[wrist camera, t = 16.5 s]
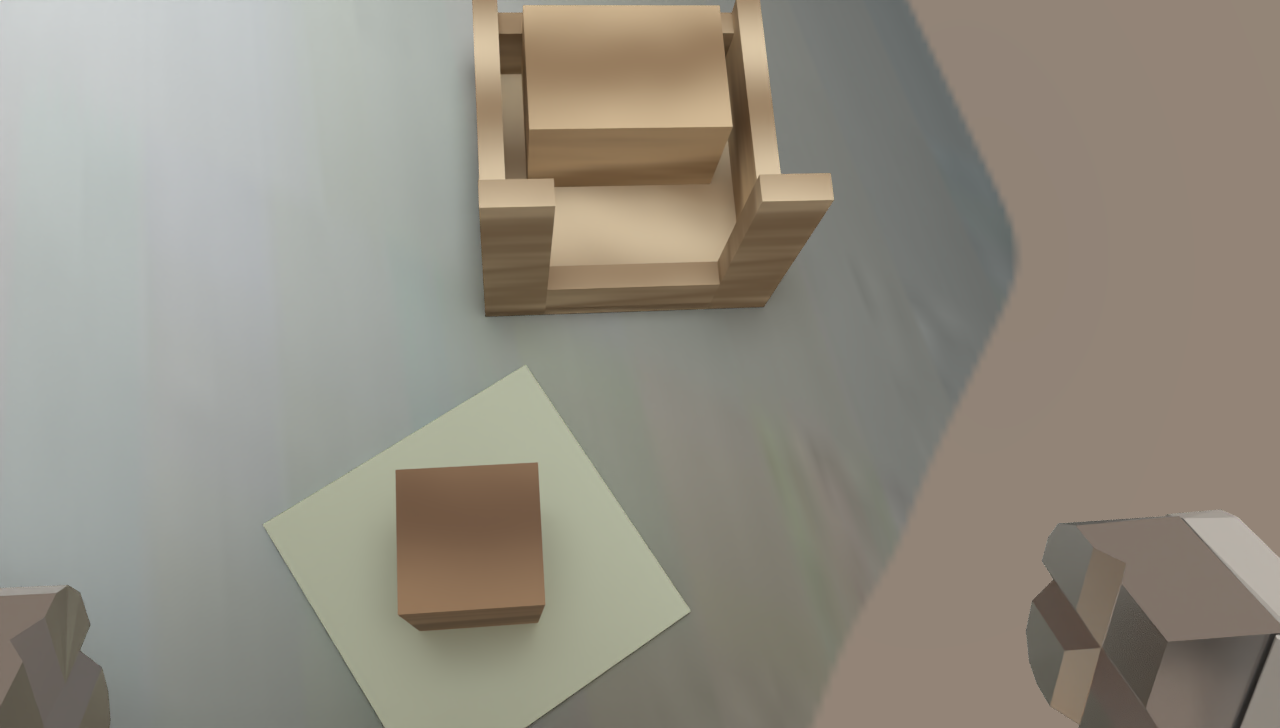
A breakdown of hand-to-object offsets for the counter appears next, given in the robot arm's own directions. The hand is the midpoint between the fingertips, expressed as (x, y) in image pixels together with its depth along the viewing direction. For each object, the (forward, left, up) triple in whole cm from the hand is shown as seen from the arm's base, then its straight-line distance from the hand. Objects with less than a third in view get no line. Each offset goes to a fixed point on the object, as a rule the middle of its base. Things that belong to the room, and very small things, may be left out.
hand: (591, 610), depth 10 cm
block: (-5, +1, -35) cm, 35 cm away
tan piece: (-15, +15, -35) cm, 41 cm away
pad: (-4, +1, -35) cm, 36 cm away
